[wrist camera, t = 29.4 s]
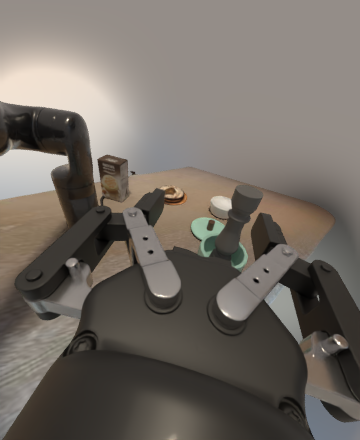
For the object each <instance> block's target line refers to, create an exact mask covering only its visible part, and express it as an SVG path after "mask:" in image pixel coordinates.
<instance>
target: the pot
mask: <svg viewBox="0 0 360 440" xmlns="http://www.w3.org/2000/svg"><path fill="white" fill-rule="evenodd" d="M218 235H219V233H214V234H209V235H207V236H205V237H204V238H203V239H202V241H201V243H200V247H199V250H198V253H197V254H198V255H200V256H203V257H209V255H210V254H211V252H212V251H213V249H215V248H216V247H215V239H216V238H217V236H218ZM231 257H232V259H231V262H232V266H233V267H234V268H236V269H238V270H239V271H240V272H241V271H242V269H243V268H244V266H245V264H246V263H247V258H248V255H247V252H246V249H245V248H244V247H243V246H242V244H241V243H240V242H239V247H238V249H237V251H236V252H235V253H234V254H232V255H231Z"/></svg>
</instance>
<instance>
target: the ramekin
mask: <svg viewBox="0 0 360 440" xmlns="http://www.w3.org/2000/svg"><path fill="white" fill-rule="evenodd" d="M229 209H232V205H231V199H229V198H227V197H223V196H216V197H213V198H212V199H211V206H210V210H211V213H212V214H213V215H214V216H216V217H218V218H221V219H228V218H229V217H228V211H229Z"/></svg>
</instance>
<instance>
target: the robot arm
mask: <svg viewBox="0 0 360 440" xmlns="http://www.w3.org/2000/svg"><path fill="white" fill-rule="evenodd" d="M12 149H21V150H33V151H40V152H44V153H50V154H56V155H64V156H68V162H69V164H66V165H62V166H59V167H57V168H55V169H53V170H52V172H51V178H52V181H53V184H54V186H55V189H56V192H57V195H58V198H59V201H60V204H61V207H62V210H63V213H64V216H65V219H66V222H67V225H68V228H69V230H68V231H66V232H65V233H64V234H63V235H62V236H61V237H60V238H59V239H58V240H56V241H55V242H54V243H53V244H52V245H51V246H50V247H49V248H48V249H46V250H45V251H44V252H43V253H42V254H41V255H40V256H39V257H38V258H36V259H35V260H34V261H33V262H32V263H31V264H30V265H29V266H28V267H26V268H25V269H24V270H23V271H22V272H21V273H20V274H19V275H18V276H17V278H16V279H15V287H16V288H17V290H18V291H19V292H20V293H21V295H22V297H23V299H24V300H25V302H26V303H27V304H28V305H29V307H30V308H31V309H32V310H33V311H34V312H35V313H36V314H37V315H38V316H39V318H40V319H42V320H52V319H55V318H57V317H58V316H60V315H65V316H69V317H73V318H77V319H80V322H79V326H78V329H77V331H76V333H75V336H74V338H73V339H72V341H71V343H70V344H69V345H68V347H67V348H66V349H65V350H64V352H63V353H62V354H61V355H60V356H59V358H58V359H57V360H56V361H55V362H54V363H53V365H52V366H51V367H50V369H49V370H48V371H47V373H46V374H45V376H44V377H43V379H42V380H41V382H40V384H39V385H38V387H37V388H36V390H35V391H34V393H33V394H32V396H31V397H30V399H29V400H28V402H27V403H26V405H25V406H24V408H23V409H22V411H21V412H20V414H19V415H18V417H17V418H16V420H15V421H14V423H13V424H12V426H11V427H10V429H9V430H8V432H7V433H6V435H5V436H4V438H3V439H2V440H315V439H314V437H313V435H312V433H311V430H310V428H309V425H308V422H307V419H306V414H305V394H308V395H310V396H312V397H315V398H317V399H320V401H321V402H322V404H323V406H324V407H325V408H326V410H327V411H328V412H329V413H330V414H331V415H332V416H333V417H334V418H335V419H337V420H339V421H341V422H353V421H360V311H359V309H358V307H357V306H356V304H355V302H354V300H353V299H352V297H351V295H350V293H349V292H348V290H347V288H346V286H345V285H344V283H343V281H342V279H341V277H340V276H339V274H338V272H337V271H336V270H335V269H334V268H333V267H332V266H331V265H329V264H328V263H326V262H324V261H321V260H314V261H313V262H312V263H311V264H310V263H308V262H306V261H304V260H302V259H300V258H298V257H299V255H298V253H297V252H296V251H295V250H294V249H293V248H292V247H290V246H288V245H287V243H286V241H285V238H284V236H283V233H282V232H281V228H280V226H279V225H278V224H277V223H276V222H273V220H272V217H271V215H269V214H265V213H260V214H259V215H258V217H257V219H256V221H255V223H254V225H253V227H252V229H251V238H252V244H253V250H254V256H255V262H254V263H253V264H252V265H251V266H250V267H248V268H247V269H246V270H245V271H244V272H243V273H241V272H240V271H239V270H238V269H236V268H234V267H233V266H232V262H231V261H228V260H225V259H221V258H217V257H203V256H200V255H198V254H196V253H194V252H191V251H189V250H187V249H183V248H179V247H176V246H174V248H173V250H165V251H164V250H163V248H162V245H161V243H160V241H159V239H158V237H157V235H156V233H155V231H154V229H153V227H154V225H155V224H156V222H157V220H158V218H159V217H160V215H161V213H162V211H163V208H164V199H165V190H162V189H158V188H156V189H155V190H154V192H153V193H150V192H149V193H147V194H145V195H144V196H143V197H142V198H141V199H140V200H139V202H138V203H137V204H136V205H135V206H134V207H132V208H127V209H125V210H124V211H123V213H111V209H110V208H109V207H107V206H103V198H104V197H105V196H102V197H101V200H100V201H101V206H98V201H97V195H96V190H95V185H94V179H93V164H92V157H91V149H90V140H89V133H88V129H87V126H86V123H85V121H84V119H83V118H82V117H81V116H80V115H79V114H77V113H75V112H71V111H64V110H58V109H52V108H45V107H32V106H22V105H15V104H8V103H3V102H1V101H0V156H2V155H4V154H5V153H7V152H8V151H9V150H12ZM114 241H125V244H126V248H127V252H128V255H129V259H130V265H131V266H130V267H128V268H126V269H125V270H123V271H121V272H119V273H117V274H115V275H113V276H111V277H109V278H107V279H105V280H103V281H101V282H100V283H98V284H97V285H96V286H95V287H94V288H91V286H92V284H93V277H92V274H91V273H92V272H93V270H94V269H95V267H96V266H97V265H98V263H99V262H100V260H101V259H102V257H103V256H104V255H105V253H106V252H107V250H108V249H109V248H110V246H111V245H112V243H113V242H114ZM278 282H279V283H281V284H283V285H284V286H286V287H288V288H290V291H291V295H292V299H293V302H294V306H295V310H296V314H297V317H298V321H299V325H300V329H301V333H302V336H303V340H302V341H301V342H300V344H298V342H297V341H296V340H295V338H294V337H293V336H292V334H291V333H290V332H289V331H288V329H287V328H286V327H285V326H284V324H283V323H282V322H281V320H280V319H279V318H278V317H277V315H276V314H275V313H274V312H273V310H272V309H271V308H270V307H269V305H268V304H267V303H266V302H265V300H264V299H265V297H266V296H267V295H268V294H269V293H270V291H271V290H272V289H273V288H274V287H275V286H276V284H277V283H278ZM317 295H319V301H318V298H317Z"/></svg>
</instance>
